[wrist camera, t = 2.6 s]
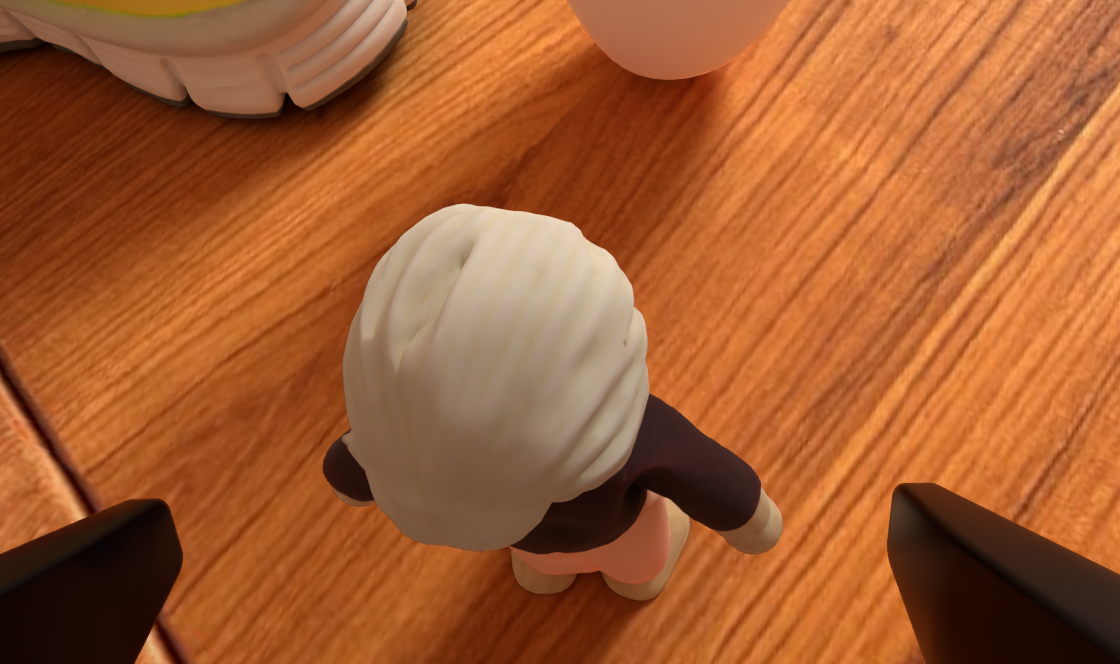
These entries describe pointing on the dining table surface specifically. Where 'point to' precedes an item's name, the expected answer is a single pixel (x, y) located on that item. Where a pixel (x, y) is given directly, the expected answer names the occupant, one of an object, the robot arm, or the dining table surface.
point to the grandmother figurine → (527, 410)
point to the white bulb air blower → (675, 32)
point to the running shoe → (218, 46)
